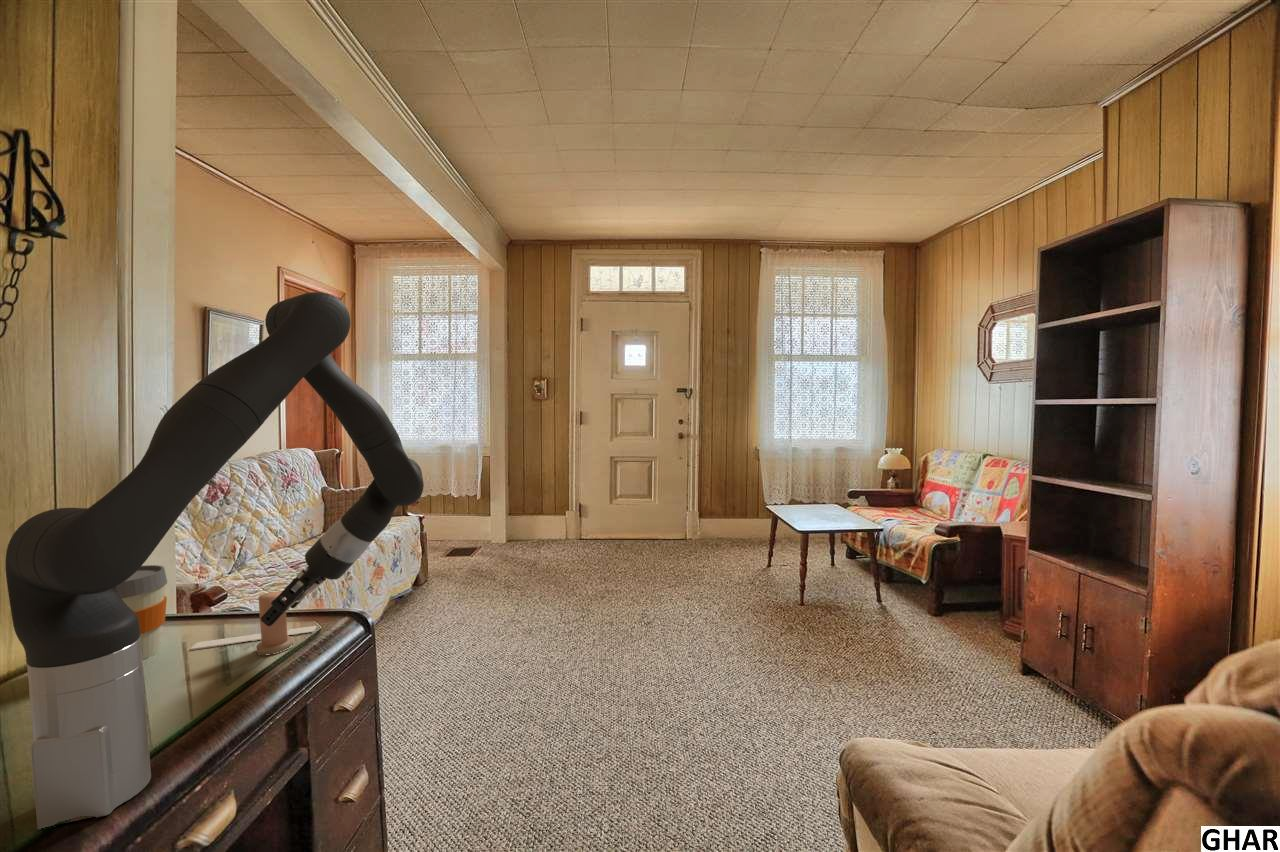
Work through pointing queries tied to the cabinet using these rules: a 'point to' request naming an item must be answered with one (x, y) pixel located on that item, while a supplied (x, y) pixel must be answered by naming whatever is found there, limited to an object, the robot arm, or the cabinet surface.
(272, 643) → the pin
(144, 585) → the reusable coffee cup
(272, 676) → the cabinet surface
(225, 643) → the strip
